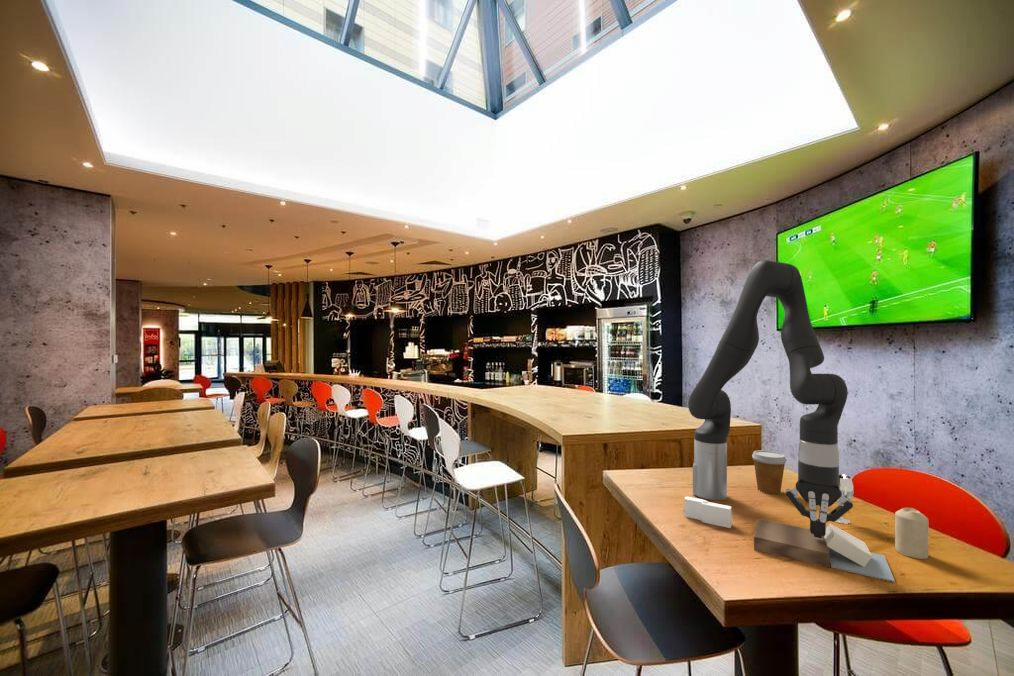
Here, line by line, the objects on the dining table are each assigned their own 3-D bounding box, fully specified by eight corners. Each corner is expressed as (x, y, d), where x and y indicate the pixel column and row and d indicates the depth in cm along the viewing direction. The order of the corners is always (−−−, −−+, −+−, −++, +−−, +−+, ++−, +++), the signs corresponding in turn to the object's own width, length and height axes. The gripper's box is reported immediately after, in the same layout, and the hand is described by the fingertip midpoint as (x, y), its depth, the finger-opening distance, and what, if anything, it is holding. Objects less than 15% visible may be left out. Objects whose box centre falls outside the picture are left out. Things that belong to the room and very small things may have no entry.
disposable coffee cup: (786, 489, 138) (786, 452, 138) (786, 498, 130) (786, 459, 130) (752, 484, 143) (752, 448, 143) (751, 492, 135) (751, 455, 135)
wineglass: (858, 525, 111) (858, 480, 111) (833, 523, 112) (833, 478, 112) (845, 516, 116) (845, 473, 116) (822, 515, 118) (822, 472, 118)
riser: (754, 549, 98) (754, 536, 98) (757, 530, 108) (757, 518, 108) (829, 567, 90) (829, 553, 90) (825, 545, 100) (826, 532, 100)
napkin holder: (745, 530, 109) (745, 508, 109) (710, 536, 106) (710, 513, 106) (702, 508, 124) (702, 488, 124) (670, 513, 120) (670, 493, 120)
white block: (827, 546, 93) (834, 535, 93) (822, 533, 99) (829, 523, 99) (864, 567, 90) (872, 556, 89) (857, 553, 96) (864, 542, 95)
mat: (831, 567, 91) (831, 565, 91) (827, 544, 101) (827, 543, 101) (894, 582, 85) (894, 580, 85) (884, 557, 95) (884, 555, 95)
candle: (932, 562, 93) (932, 516, 93) (898, 555, 96) (898, 511, 96) (924, 551, 98) (924, 508, 98) (892, 545, 101) (892, 503, 101)
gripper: (783, 459, 97) (783, 535, 97) (857, 470, 90) (857, 551, 90) (783, 452, 103) (783, 523, 103) (853, 461, 96) (852, 537, 96)
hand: (817, 536), depth 97 cm, fingers closed
